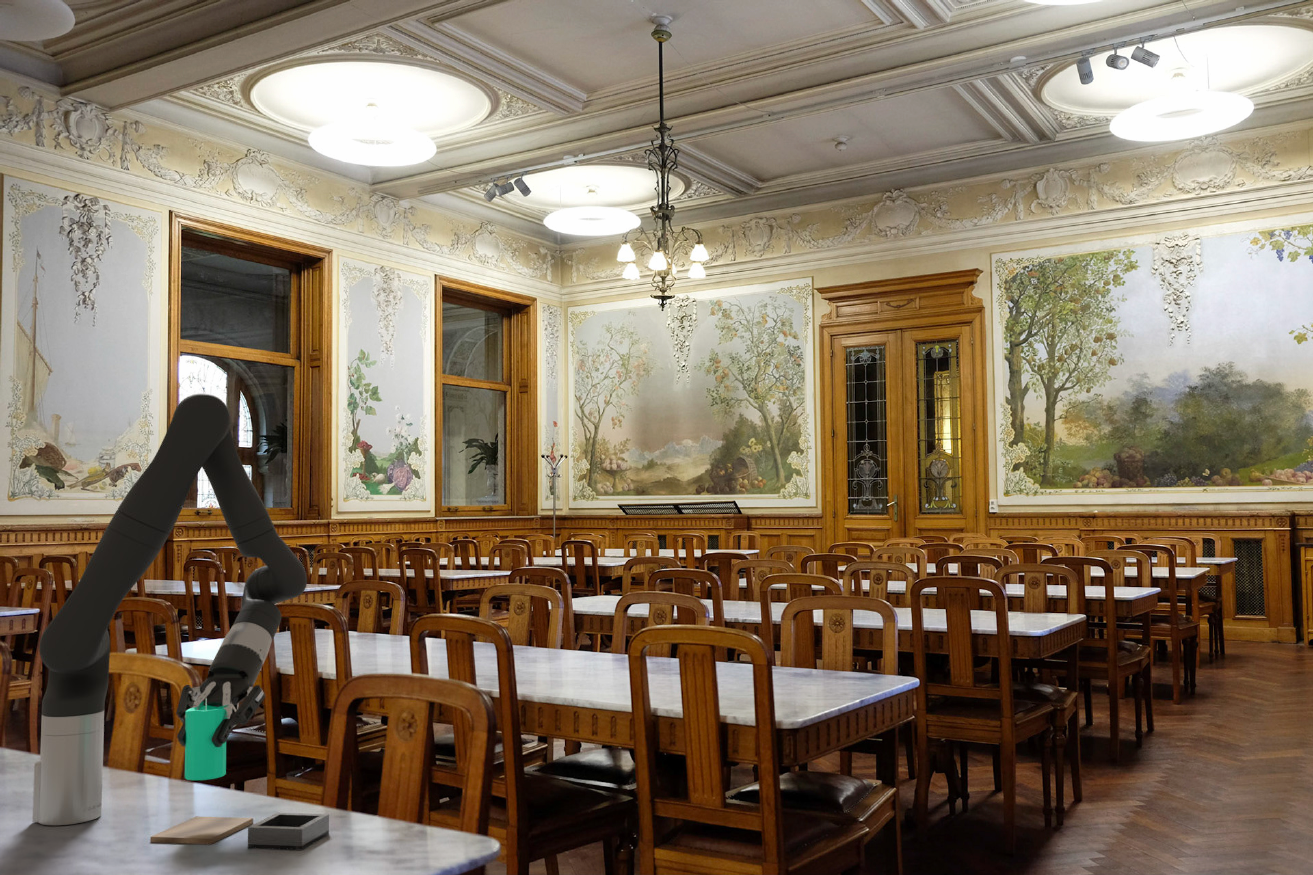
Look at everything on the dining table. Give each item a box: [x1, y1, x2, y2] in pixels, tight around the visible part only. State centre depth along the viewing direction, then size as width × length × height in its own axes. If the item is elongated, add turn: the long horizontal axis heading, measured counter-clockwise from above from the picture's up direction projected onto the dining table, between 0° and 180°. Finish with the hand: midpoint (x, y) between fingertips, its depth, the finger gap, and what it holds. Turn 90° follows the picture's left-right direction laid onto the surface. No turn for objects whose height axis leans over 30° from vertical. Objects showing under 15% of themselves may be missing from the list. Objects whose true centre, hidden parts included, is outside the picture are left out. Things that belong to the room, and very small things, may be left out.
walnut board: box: [149, 815, 254, 845], centre depth 172 cm, size 10×12×1 cm
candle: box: [184, 698, 227, 781], centre depth 173 cm, size 6×6×12 cm
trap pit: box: [247, 812, 330, 851], centre depth 166 cm, size 9×9×3 cm
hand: (199, 743), depth 171 cm, fingers closed on candle, 5 cm apart
